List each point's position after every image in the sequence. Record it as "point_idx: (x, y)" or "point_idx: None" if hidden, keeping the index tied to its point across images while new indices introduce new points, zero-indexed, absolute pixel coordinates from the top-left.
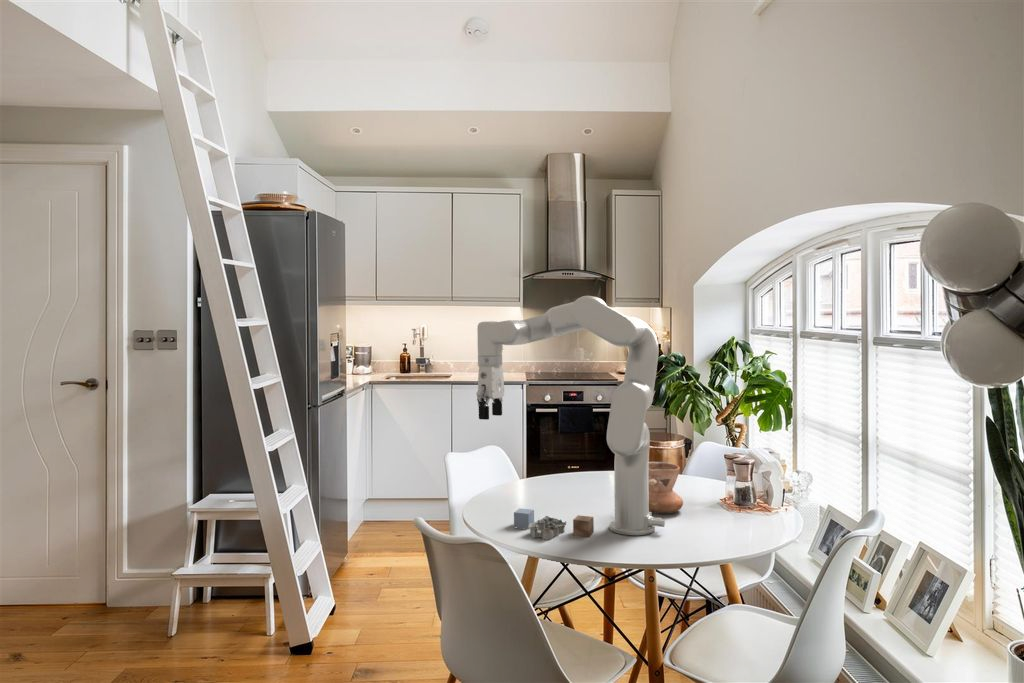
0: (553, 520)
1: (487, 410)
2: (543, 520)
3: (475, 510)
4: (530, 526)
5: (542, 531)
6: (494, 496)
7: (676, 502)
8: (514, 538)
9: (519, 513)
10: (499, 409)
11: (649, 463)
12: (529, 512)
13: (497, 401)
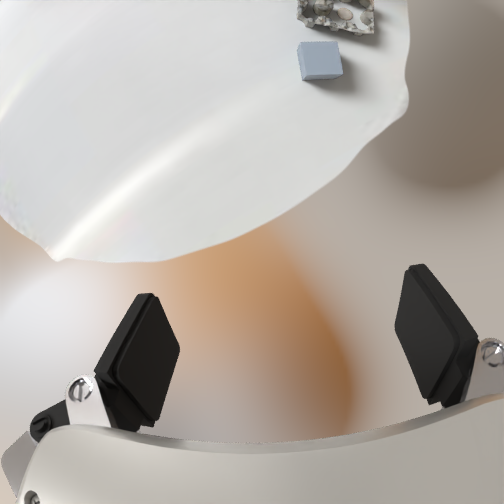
0: (303, 5)
1: (456, 313)
2: (323, 17)
3: (263, 212)
4: (366, 30)
5: (372, 8)
6: (155, 236)
7: None
8: (388, 57)
9: (340, 61)
10: (144, 336)
11: None
12: (326, 43)
13: (123, 410)
